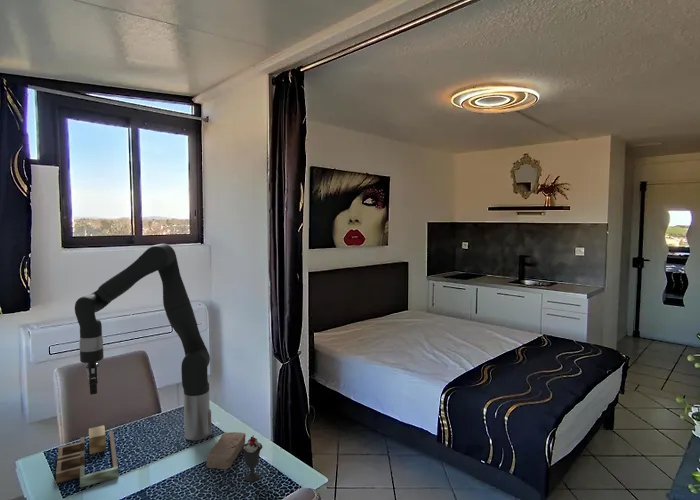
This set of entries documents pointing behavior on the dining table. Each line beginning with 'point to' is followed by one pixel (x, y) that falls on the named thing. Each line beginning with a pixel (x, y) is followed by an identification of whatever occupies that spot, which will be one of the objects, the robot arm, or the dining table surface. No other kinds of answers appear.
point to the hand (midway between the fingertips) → (93, 389)
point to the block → (97, 439)
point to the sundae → (251, 457)
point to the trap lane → (74, 459)
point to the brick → (225, 450)
